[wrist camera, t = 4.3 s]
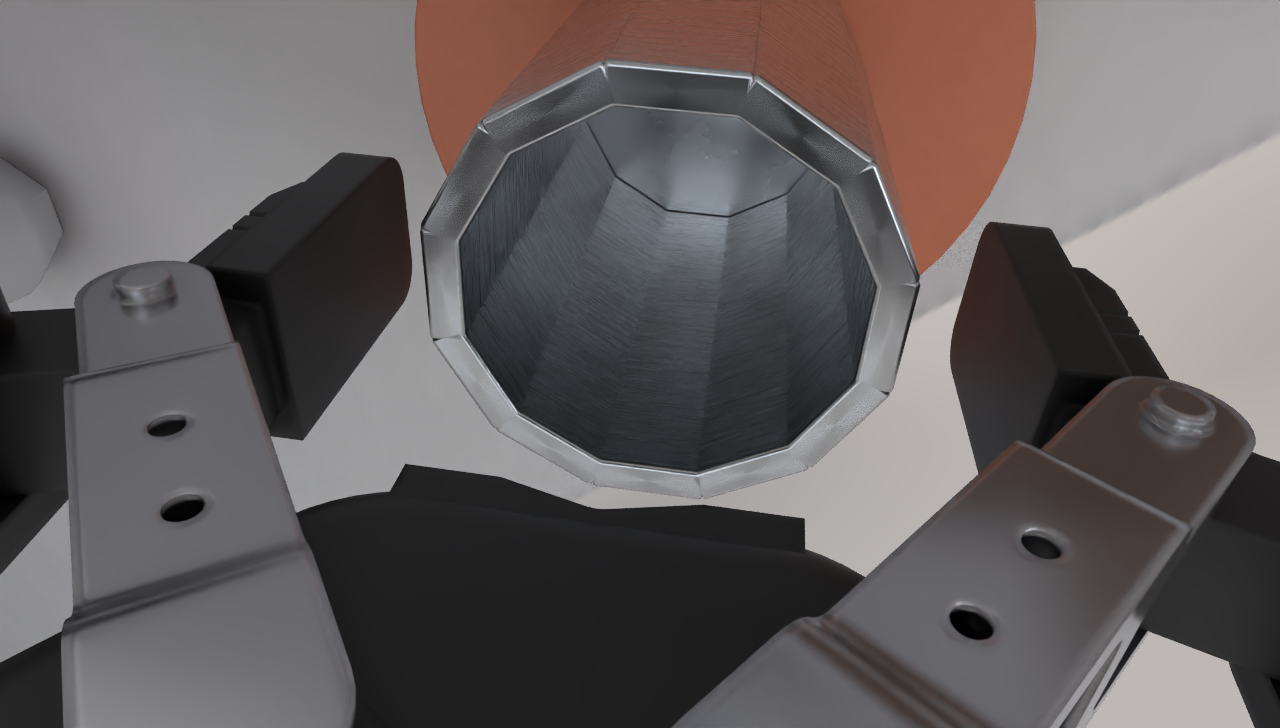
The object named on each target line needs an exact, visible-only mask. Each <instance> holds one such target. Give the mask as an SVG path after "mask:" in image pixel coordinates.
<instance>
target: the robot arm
mask: <svg viewBox="0 0 1280 728" xmlns="http://www.w3.org/2000/svg"><path fill="white" fill-rule="evenodd" d="M411 275H412V257H411V248H410V238H409V229H408V219H407V210H406V200H405V191H404V181H403V175H402V170H401V167H400V165H399V163H398V162H397V160H396V159H394V158H391V157H382V156H372V155H363V154H353V153H344V152H342V153H339V154H337V155H336V156H335V157H333V158H332V159H331V160H330V161H329V162H328V163H326V164H325V165H324V166H323V167H322V168H320V169H319V170H318V171H317V172H316V173H315V174H313V175H312V176H311V177H310V178H309V179H307V180H306V181H305V182H301V183H299V184H296V185H294V186H291V187H289V188H287V189H284V190H282V191H279V192H277V193H274V194H272V195H270V196H268V197H267V198H266V199H265V200H264V201H262V202H261V203H260V204H259V205H257V206H256V207H255V208H254V209H253V210H251V211H250V215H249V216H248V215H245V216H244V217H243V218H241V219H240V220H239V221H238V222H237V223H235V224H234V225H233V229H232V230H231V229H228V230H227V231H225V232H224V233H223V234H222V235H221V236H219V237H218V238H217V239H216V240H214V241H213V242H212V243H211V244H210V245H208V246H207V247H206V248H205V249H203V250H202V251H201V252H200V253H198V254H197V255H196V256H195V257H194V258H192V259H191V260H190V261H189V262H180V261H154V262H146V263H139V264H134V265H129V266H126V267H122V268H118V269H116V270H113V271H110V272H107V273H105V274H103V275H101V276H99V277H97V278H95V279H93V280H92V281H90V282H89V283H87V284H86V285H85V286H84V287H82V289H81V290H80V291H79V292H78V293H77V295H76V297H75V303H74V305H75V308H72V309H54V310H36V311H18V312H10V309H9V307H8V304H7V302H6V300H5V297H4V295H3V292H2V290H1V287H0V574H1V573H2V572H3V571H4V570H5V569H6V568H7V567H8V566H9V564H10V563H11V562H12V561H13V560H14V559H15V558H16V557H17V556H18V554H19V553H20V552H21V551H22V550H23V549H24V548H25V547H26V546H27V544H28V543H29V542H30V541H31V540H32V539H33V538H34V537H35V535H36V534H37V533H38V532H39V531H40V530H41V529H42V528H43V527H44V525H45V524H46V523H47V522H48V521H49V520H50V519H51V518H52V517H53V515H54V514H55V513H56V512H57V511H58V510H59V509H60V508H61V507H62V505H63V504H64V503H65V502H66V501H67V500H68V499H69V520H70V541H71V563H72V585H73V612H72V615H71V617H70V618H68V619H66V620H65V622H64V624H63V628H62V631H61V632H59V633H57V634H55V635H53V636H52V637H50V638H48V639H46V640H44V641H42V642H40V643H38V644H36V645H34V646H32V647H30V648H28V649H26V650H24V651H22V652H20V653H18V654H16V655H14V656H12V657H11V658H9V659H7V660H5V661H3V662H1V663H0V728H1086V726H1087V725H1088V724H1089V722H1090V721H1091V719H1092V718H1093V716H1094V715H1095V713H1096V712H1097V710H1098V709H1099V707H1100V706H1101V704H1102V703H1103V701H1104V700H1105V698H1106V697H1107V695H1108V694H1109V692H1110V691H1111V689H1112V688H1113V686H1114V685H1115V683H1116V682H1117V680H1118V679H1119V677H1120V676H1121V674H1122V673H1123V671H1124V669H1125V668H1126V667H1127V665H1128V664H1129V662H1130V661H1131V659H1132V658H1133V656H1134V655H1135V653H1136V652H1137V650H1138V649H1139V647H1140V646H1141V644H1142V643H1143V641H1144V640H1145V638H1146V637H1147V635H1148V633H1149V632H1152V633H1155V634H1157V635H1160V636H1163V637H1165V638H1168V639H1170V640H1173V641H1176V642H1178V643H1181V644H1184V645H1186V646H1189V647H1192V648H1194V649H1197V650H1200V651H1202V652H1205V653H1207V654H1210V655H1213V656H1215V657H1218V658H1221V659H1223V660H1226V661H1228V662H1229V664H1230V668H1231V671H1232V674H1233V676H1234V679H1235V681H1236V684H1237V686H1238V688H1239V691H1240V693H1241V695H1242V698H1243V700H1244V703H1245V705H1246V708H1247V710H1248V712H1249V714H1250V717H1251V720H1252V722H1253V725H1254V727H1255V728H1280V462H1279V461H1276V460H1273V459H1270V458H1267V457H1264V456H1261V455H1258V454H1256V453H1253V452H1252V451H1253V449H1254V447H1255V444H1256V439H1255V434H1254V431H1253V430H1252V428H1251V426H1250V425H1249V423H1248V422H1247V421H1246V420H1245V419H1244V418H1243V417H1242V415H1240V414H1239V413H1238V412H1237V411H1236V410H1235V409H1233V408H1232V407H1230V406H1229V405H1228V404H1226V403H1225V402H1223V401H1222V400H1220V399H1218V398H1216V397H1214V396H1213V395H1211V394H1208V393H1206V392H1204V391H1202V390H1200V389H1197V388H1195V387H1192V386H1189V385H1187V384H1183V383H1180V382H1176V381H1172V380H1170V379H1169V377H1168V376H1167V374H1166V373H1165V371H1164V369H1163V368H1162V366H1161V365H1160V363H1159V361H1158V360H1157V358H1156V356H1155V355H1154V353H1153V352H1152V350H1151V348H1150V347H1149V345H1148V343H1147V342H1146V340H1145V339H1144V337H1143V336H1142V335H1139V331H1140V330H1139V329H1138V327H1137V326H1136V324H1135V322H1134V321H1133V319H1132V318H1131V317H1128V311H1127V309H1126V308H1125V306H1124V305H1123V303H1122V301H1121V300H1120V298H1119V296H1118V295H1117V293H1116V292H1115V290H1114V289H1112V288H1111V287H1110V286H1108V285H1107V284H1106V283H1104V282H1103V281H1102V280H1100V279H1099V278H1098V277H1096V276H1095V275H1094V274H1092V273H1091V272H1090V271H1088V270H1087V269H1084V268H1076V267H1072V265H1071V264H1070V262H1069V260H1068V258H1067V257H1066V255H1065V253H1064V251H1063V249H1062V248H1061V246H1060V244H1059V242H1058V240H1057V239H1056V237H1055V235H1054V233H1053V232H1052V230H1051V229H1050V228H1046V227H1036V226H1027V225H1017V224H1008V223H998V222H990V223H988V224H987V225H986V227H985V229H984V230H983V232H982V235H981V237H980V240H979V243H978V247H977V250H976V253H975V257H974V260H973V263H972V267H971V270H970V274H969V277H968V280H967V284H966V287H965V291H964V294H963V297H962V301H961V304H960V308H959V311H958V314H957V318H956V321H955V325H954V329H953V334H952V340H951V349H950V364H951V371H952V375H953V378H954V382H955V386H956V390H957V394H958V397H959V401H960V405H961V409H962V413H963V416H964V420H965V424H966V428H967V432H968V436H969V439H970V443H971V447H972V451H973V454H974V458H975V462H976V466H977V469H978V475H977V476H976V477H975V478H974V479H973V480H971V481H970V482H969V483H968V484H967V485H966V486H965V487H964V488H963V489H962V490H961V491H960V492H958V493H957V494H956V495H955V496H954V497H953V498H952V499H951V500H950V501H949V502H947V503H946V504H945V505H944V506H943V507H942V508H941V509H940V510H939V511H938V512H936V513H935V514H934V515H933V516H932V517H931V518H930V519H929V520H928V521H927V522H926V523H924V524H923V525H922V526H921V527H920V528H919V529H918V530H917V531H916V532H915V533H913V534H912V535H911V536H910V537H909V538H908V539H907V540H906V541H905V542H904V543H902V544H901V545H900V546H899V547H898V548H897V549H896V550H895V551H894V552H893V553H891V554H890V555H889V556H888V557H887V558H886V559H885V560H884V561H883V562H882V563H881V564H879V565H878V567H876V568H875V569H874V570H873V571H872V572H871V573H870V574H869V575H867V576H866V577H864V576H862V575H860V574H859V573H857V572H855V571H853V570H851V569H850V568H848V567H846V566H844V565H842V564H840V563H838V562H836V561H834V560H831V559H829V558H827V557H825V556H822V555H820V554H817V553H814V552H812V551H809V550H806V549H805V519H803V518H796V517H789V516H781V515H774V514H767V513H760V512H752V511H745V510H738V509H730V508H723V507H715V506H708V505H691V506H667V507H648V508H647V507H645V508H623V509H595V508H590V507H587V506H583V505H581V504H578V503H575V502H572V501H569V500H566V499H563V498H560V497H557V496H554V495H551V494H549V493H546V492H543V491H540V490H537V489H534V488H531V487H528V486H525V485H522V484H519V483H516V482H514V481H511V480H508V479H505V478H502V477H497V476H489V475H482V474H475V473H467V472H460V471H453V470H445V469H438V468H431V467H424V466H416V465H409V464H405V466H404V467H403V469H402V471H401V473H400V475H399V476H398V478H397V480H396V482H395V484H394V485H393V487H392V489H391V491H390V492H379V493H371V494H364V495H357V496H352V497H347V498H343V499H338V500H333V501H330V502H326V503H323V504H320V505H317V506H313V507H310V508H307V509H305V510H302V511H300V512H297V513H296V512H295V509H294V506H293V503H292V500H291V497H290V494H289V490H288V487H287V484H286V481H285V478H284V475H283V472H282V469H281V466H280V463H279V460H278V457H277V454H276V451H275V448H274V445H273V442H272V439H271V436H274V437H281V438H289V439H296V440H304V438H305V437H306V436H307V434H308V433H309V431H310V430H311V429H312V427H313V426H314V425H315V423H316V422H317V420H318V419H319V418H320V416H321V415H322V414H323V412H324V411H325V410H326V408H327V407H328V405H329V404H330V403H331V401H332V400H333V399H334V397H335V396H336V394H337V393H338V392H339V390H340V389H341V388H342V386H343V385H344V384H345V382H346V381H347V379H348V378H349V377H350V375H351V374H352V373H353V371H354V370H355V368H356V367H357V366H358V364H359V363H360V362H361V360H362V359H363V357H364V356H365V355H366V353H367V352H368V351H369V349H370V348H371V347H372V345H373V344H374V342H375V341H376V340H377V338H378V337H379V336H380V334H381V333H382V331H383V330H384V329H385V327H386V326H387V325H388V323H389V322H390V321H391V319H392V318H393V316H394V315H395V314H396V312H397V311H398V310H399V308H400V307H401V305H402V304H403V303H404V301H405V299H406V297H407V294H408V291H409V287H410V282H411Z"/></svg>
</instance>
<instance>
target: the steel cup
mask: <svg viewBox="0 0 1280 728" xmlns="http://www.w3.org/2000/svg"><path fill="white" fill-rule="evenodd" d="M420 234H421V244H422V255H423V265H424V275H425V285H426V295H427V306H428V316H429V326H430V335H431V337H432V338H433V343H434V344H435V346H436V347H437V349H438V350H439V351H440V353H441V354H442V356H443V357H444V359H445V360H446V361H447V363H448V364H449V366H450V367H451V368H452V370H453V371H454V373H455V374H456V375H457V377H458V378H459V380H460V381H461V383H462V384H463V385H464V387H465V388H466V390H467V391H468V392H469V394H470V395H471V397H472V398H473V399H474V401H475V402H476V404H477V405H478V407H479V408H480V409H481V411H482V412H483V414H484V415H485V416H486V418H487V419H488V421H489V422H490V423H491V425H492V426H493V427H497V430H498V432H500V433H502V434H504V435H505V436H507V437H509V438H511V439H512V440H514V441H516V442H518V443H519V444H521V445H523V446H525V447H526V448H528V449H530V450H531V451H533V452H535V453H537V454H538V455H540V456H542V457H544V458H545V459H547V460H549V461H551V462H552V463H554V464H556V465H558V466H559V467H561V468H563V469H565V470H566V471H568V472H570V473H571V474H573V475H575V476H577V477H578V478H580V479H582V480H584V481H585V482H587V483H592V482H593V484H594V485H596V486H603V487H611V488H619V489H627V490H634V491H641V492H650V493H657V494H664V495H672V496H680V497H687V498H695V499H701V497H703V498H709V497H713V496H716V495H720V494H724V493H727V492H731V491H735V490H738V489H742V488H745V487H749V486H752V485H756V484H759V483H763V482H766V481H770V480H774V479H777V478H780V477H784V476H788V475H791V474H795V473H798V472H802V471H805V470H807V469H808V467H813V466H814V465H815V464H816V463H817V462H818V461H819V460H820V459H821V458H823V457H824V456H825V455H826V454H827V453H828V452H829V451H830V450H831V449H832V448H833V447H834V446H835V445H836V444H838V443H839V442H840V441H841V440H842V439H843V438H844V437H845V436H846V435H847V434H848V433H850V432H851V431H852V430H853V429H854V428H855V427H856V426H857V425H858V424H859V423H860V422H861V421H863V419H865V418H866V417H867V416H868V415H869V414H870V413H871V412H872V411H873V410H874V409H875V408H876V407H878V406H879V405H880V404H881V403H882V402H883V401H884V400H885V399H886V398H887V397H888V396H889V394H890V392H891V391H892V390H893V388H894V383H895V380H896V375H897V372H898V368H899V365H900V361H901V357H902V353H903V349H904V346H905V341H906V338H907V334H908V330H909V327H910V323H911V319H912V315H913V311H914V308H915V304H916V300H917V296H918V292H919V288H920V282H919V279H920V275H919V271H918V267H917V264H916V260H915V256H914V252H913V248H912V245H911V241H910V237H909V233H908V229H907V226H906V222H905V218H904V214H903V210H902V207H901V203H900V199H899V195H898V191H897V188H896V184H895V180H894V176H893V172H892V169H891V165H890V161H889V157H888V153H887V150H886V146H885V142H884V138H883V134H882V130H881V127H880V123H879V119H878V115H877V111H876V108H875V104H874V100H873V96H872V92H871V89H870V85H869V81H868V77H867V73H866V70H865V67H864V65H863V62H862V59H861V56H860V54H859V51H858V48H857V45H856V43H855V40H854V37H853V34H852V30H851V27H850V25H849V23H848V21H847V18H846V15H845V13H844V10H843V7H842V4H841V2H840V0H583V1H582V2H581V3H580V4H579V6H578V7H577V8H576V9H575V10H574V11H573V12H572V14H571V15H570V16H569V17H568V18H567V19H566V21H565V22H564V23H563V24H562V25H561V26H560V28H559V29H558V30H557V31H556V32H555V33H554V35H553V36H552V37H551V38H550V39H549V40H548V41H547V43H546V44H545V45H544V46H543V47H542V48H541V50H540V51H539V52H538V53H537V54H536V55H535V57H534V58H533V59H532V60H531V61H530V62H529V64H528V65H527V66H526V67H525V68H524V69H523V71H522V72H521V73H520V74H519V75H518V76H517V77H516V79H515V80H514V81H513V82H512V83H511V84H510V86H509V87H508V88H507V89H506V90H505V91H504V93H503V94H502V95H501V96H500V97H499V98H498V100H497V101H496V102H495V103H494V104H493V105H492V106H491V108H490V109H489V110H488V111H487V112H486V113H485V115H484V116H483V117H482V118H481V119H480V120H479V122H478V123H477V124H476V125H475V127H474V129H473V131H472V132H471V134H470V136H469V138H468V140H467V142H466V143H465V145H464V147H463V149H462V151H461V152H460V154H459V156H458V158H457V160H456V161H455V163H454V165H453V167H452V169H451V170H450V172H449V174H448V176H447V178H446V180H445V181H444V183H443V185H442V187H441V189H440V190H439V192H438V194H437V196H436V198H435V199H434V201H433V203H432V205H431V207H430V208H429V210H428V212H427V214H426V216H425V218H424V219H423V221H422V223H421V231H420Z"/></svg>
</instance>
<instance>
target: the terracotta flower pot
mask: <svg viewBox="0 0 1280 728" xmlns="http://www.w3.org/2000/svg"><path fill="white" fill-rule="evenodd" d="M582 1H583V0H417V7H416V17H415V49H416V68H417V75H418V81H419V88H420V94H421V101H422V105H423V109H424V113H425V116H426V120H427V123H428V127H429V131H430V134H431V138H432V141H433V143H434V146H435V148H436V151H437V153H438V155H439V158H440V160H441V163H442V165H443V168H444V170H445V172H446V175H447V176H448V174H449V172H450V170H451V169H452V167H453V165H454V163H455V161H456V160H457V158H458V156H459V154H460V152H461V151H462V149H463V147H464V145H465V143H466V142H467V140H468V138H469V136H470V134H471V132H472V131H473V129H474V127H475V125H476V124H477V123H478V122H479V120H480V119H481V118H482V117H483V116H484V115H485V113H486V112H487V111H488V110H489V109H490V108H491V106H492V105H493V104H494V103H495V102H496V101H497V100H498V98H499V97H500V96H501V95H502V94H503V93H504V91H505V90H506V89H507V88H508V87H509V86H510V84H511V83H512V82H513V81H514V80H515V79H516V77H517V76H518V75H519V74H520V73H521V72H522V71H523V69H524V68H525V67H526V66H527V65H528V64H529V62H530V61H531V60H532V59H533V58H534V57H535V55H536V54H537V53H538V52H539V51H540V50H541V48H542V47H543V46H544V45H545V44H546V43H547V41H548V40H549V39H550V38H551V37H552V36H553V35H554V33H555V32H556V31H557V30H558V29H559V28H560V26H561V25H562V24H563V23H564V22H565V21H566V19H567V18H568V17H569V16H570V15H571V14H572V12H573V11H574V10H575V9H576V8H577V7H578V6H579V4H580V3H581V2H582ZM840 2H841V4H842V7H843V10H844V13H845V15H846V18H847V21H848V23H849V25H850V27H851V30H852V34H853V37H854V40H855V43H856V45H857V48H858V51H859V54H860V56H861V59H862V62H863V65H864V67H865V70H866V73H867V77H868V81H869V85H870V89H871V92H872V96H873V100H874V104H875V108H876V111H877V115H878V119H879V123H880V127H881V130H882V134H883V138H884V142H885V146H886V150H887V153H888V157H889V161H890V165H891V169H892V172H893V176H894V180H895V184H896V188H897V191H898V195H899V199H900V203H901V207H902V210H903V214H904V218H905V222H906V226H907V229H908V233H909V237H910V241H911V245H912V248H913V252H914V256H915V260H916V264H917V267H918V271H919V275H921V274H922V273H923V272H924V271H925V270H927V269H928V268H929V267H930V266H931V265H932V264H933V263H934V262H936V261H937V260H938V259H939V258H940V257H941V256H942V255H943V254H944V253H945V252H946V251H947V249H948V248H949V247H950V246H951V245H952V244H953V243H954V242H955V240H956V239H957V238H958V237H959V236H960V235H961V234H962V233H963V231H964V230H965V229H966V228H967V227H968V225H969V224H970V222H971V221H972V220H973V218H974V217H975V215H976V214H977V212H978V211H979V209H980V208H981V207H982V205H983V204H984V202H985V201H986V199H987V198H988V196H989V195H990V193H991V191H992V189H993V187H994V185H995V184H996V182H997V180H998V178H999V176H1000V174H1001V172H1002V170H1003V168H1004V166H1005V164H1006V163H1007V161H1008V159H1009V156H1010V153H1011V150H1012V148H1013V145H1014V142H1015V140H1016V137H1017V134H1018V132H1019V129H1020V126H1021V124H1022V121H1023V117H1024V112H1025V108H1026V104H1027V99H1028V95H1029V91H1030V86H1031V82H1032V76H1033V65H1034V55H1035V44H1036V18H1035V0H840Z"/></svg>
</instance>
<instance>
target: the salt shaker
mask: <svg viewBox="0 0 1280 728" xmlns="http://www.w3.org/2000/svg"><path fill="white" fill-rule="evenodd" d="M62 234H63V231H62V228H61V225H60V223H59V220H58V217H57V215H56V212H55V209H54V207H53V204H52V201H51V199H50V196H49V193H48V191H47V189H46V188H45V187H43V186H42V185H40V184H39V183H37V182H36V181H34V180H33V179H31V178H30V177H28V176H27V175H25V174H24V173H23V172H21V171H20V170H18V169H17V168H15V167H14V166H12V165H11V164H9V163H8V162H6V161H5V160H3V159H2V158H0V287H1V290H2V292H3V295H4V297H5V300H6V302H7V304H9V303H11V302H13V301H15V300H17V299H20V298H22V297H24V296H26V295H28V294H30V293H32V292H33V291H34V290H35V289H36V287H37V286H38V285H39V284H40V282H41V280H42V278H43V276H44V274H45V272H46V270H47V268H48V266H49V263H50V261H51V259H52V257H53V254H54V252H55V250H56V248H57V245H58V243H59V241H60V239H61V236H62Z"/></svg>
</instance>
